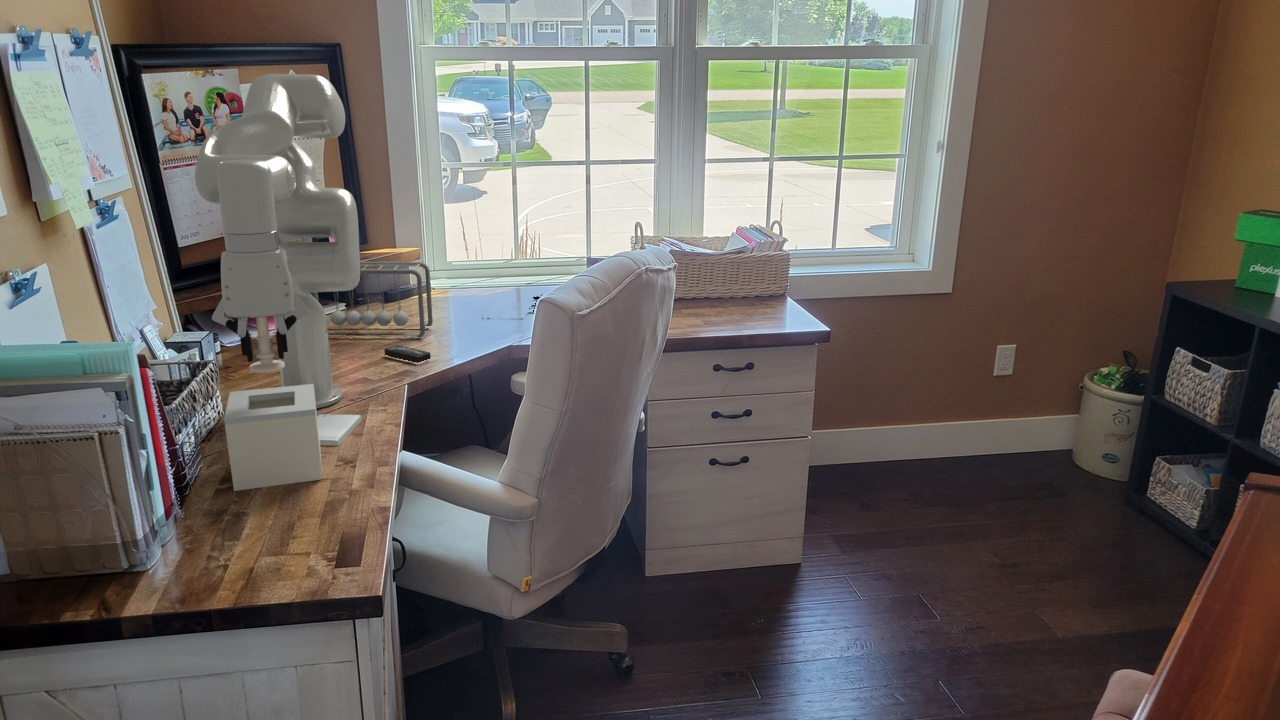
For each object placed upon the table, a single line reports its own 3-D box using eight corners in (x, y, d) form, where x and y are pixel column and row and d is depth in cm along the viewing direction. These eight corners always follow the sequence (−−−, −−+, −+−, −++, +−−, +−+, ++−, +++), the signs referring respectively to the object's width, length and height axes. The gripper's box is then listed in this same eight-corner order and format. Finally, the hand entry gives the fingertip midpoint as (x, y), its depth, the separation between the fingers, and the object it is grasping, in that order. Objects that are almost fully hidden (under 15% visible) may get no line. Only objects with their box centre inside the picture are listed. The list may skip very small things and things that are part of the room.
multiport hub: (417, 366, 200) (416, 356, 199) (384, 358, 206) (383, 349, 205) (431, 362, 203) (431, 352, 203) (398, 354, 209) (398, 344, 208)
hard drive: (318, 414, 167) (291, 438, 155) (361, 414, 167) (337, 439, 155) (319, 422, 167) (292, 447, 155) (362, 423, 167) (338, 448, 155)
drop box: (238, 459, 149) (229, 391, 145) (320, 449, 153) (313, 383, 150) (234, 491, 137) (224, 418, 134) (322, 479, 142) (315, 409, 138)
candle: (288, 362, 143) (281, 299, 140) (280, 372, 138) (273, 307, 135) (254, 363, 142) (246, 300, 139) (245, 373, 137) (237, 308, 134)
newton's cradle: (433, 329, 230) (429, 261, 224) (425, 340, 220) (420, 269, 214) (317, 328, 229) (310, 261, 224) (303, 339, 219) (296, 269, 214)
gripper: (310, 236, 140) (321, 347, 146) (194, 241, 135) (210, 356, 140) (311, 244, 134) (322, 359, 139) (188, 249, 128) (205, 370, 133)
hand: (266, 357), depth 139 cm, fingers closed on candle, 3 cm apart
